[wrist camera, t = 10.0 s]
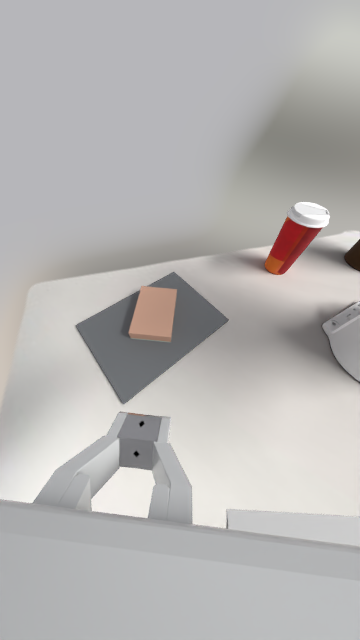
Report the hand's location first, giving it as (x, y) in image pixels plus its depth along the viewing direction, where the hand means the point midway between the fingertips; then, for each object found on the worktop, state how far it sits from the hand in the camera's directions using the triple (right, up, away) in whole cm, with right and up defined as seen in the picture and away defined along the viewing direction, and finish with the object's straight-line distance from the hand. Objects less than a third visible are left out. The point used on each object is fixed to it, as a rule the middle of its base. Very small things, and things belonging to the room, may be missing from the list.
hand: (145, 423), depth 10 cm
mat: (-3, +5, +27) cm, 28 cm away
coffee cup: (+29, +21, +38) cm, 52 cm away
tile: (-4, +2, +23) cm, 24 cm away
